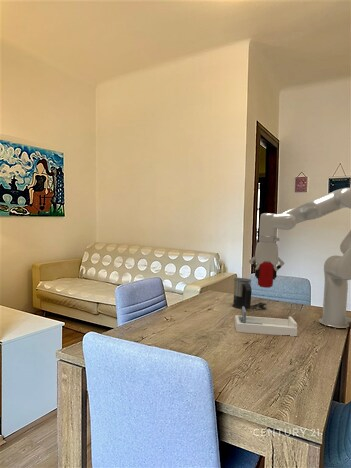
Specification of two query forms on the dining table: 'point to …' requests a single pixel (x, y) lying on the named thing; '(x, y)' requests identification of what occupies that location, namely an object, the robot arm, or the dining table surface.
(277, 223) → the robot arm
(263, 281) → the beverage can
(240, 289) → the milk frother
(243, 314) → the pusher
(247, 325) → the white tray
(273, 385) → the dining table surface
